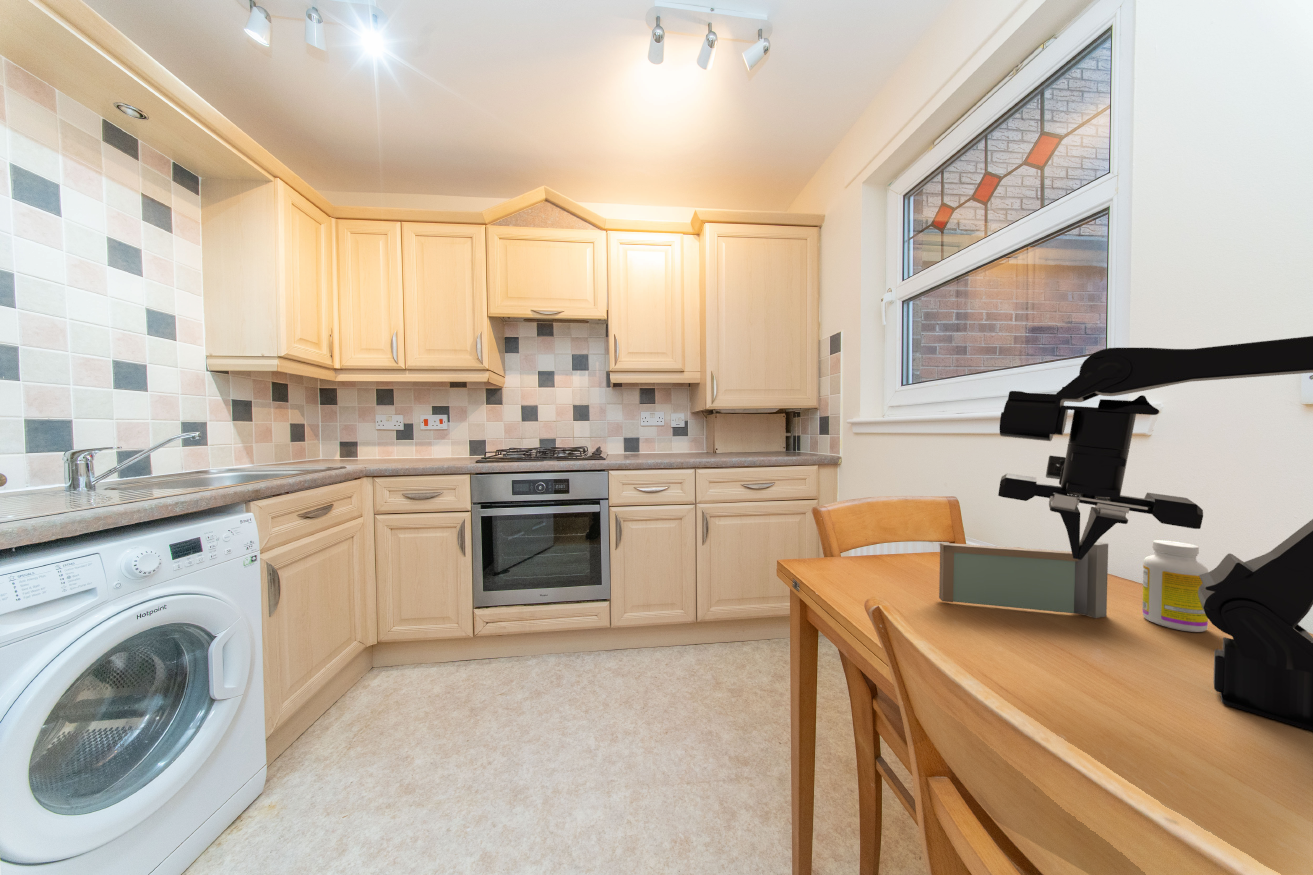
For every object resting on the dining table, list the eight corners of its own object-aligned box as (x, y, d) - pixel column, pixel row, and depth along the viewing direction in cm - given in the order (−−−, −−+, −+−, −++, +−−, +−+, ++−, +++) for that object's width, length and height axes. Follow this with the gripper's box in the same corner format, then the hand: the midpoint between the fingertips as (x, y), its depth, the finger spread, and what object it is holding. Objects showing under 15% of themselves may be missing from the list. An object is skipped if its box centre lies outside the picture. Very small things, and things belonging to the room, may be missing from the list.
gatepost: (1083, 608, 74) (1085, 539, 74) (1106, 615, 71) (1108, 543, 71) (1072, 611, 73) (1074, 540, 73) (1095, 618, 70) (1097, 544, 70)
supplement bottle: (1222, 634, 65) (1224, 549, 65) (1177, 633, 65) (1179, 548, 65) (1170, 615, 72) (1172, 538, 72) (1129, 614, 72) (1131, 537, 72)
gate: (1081, 611, 72) (1082, 551, 72) (1089, 615, 70) (1091, 555, 70) (938, 597, 77) (939, 542, 77) (943, 601, 75) (944, 545, 75)
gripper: (1189, 450, 57) (1165, 562, 59) (1009, 434, 69) (994, 527, 71) (1217, 459, 49) (1188, 589, 51) (1006, 439, 61) (990, 545, 63)
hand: (1076, 558), depth 59 cm, fingers closed
